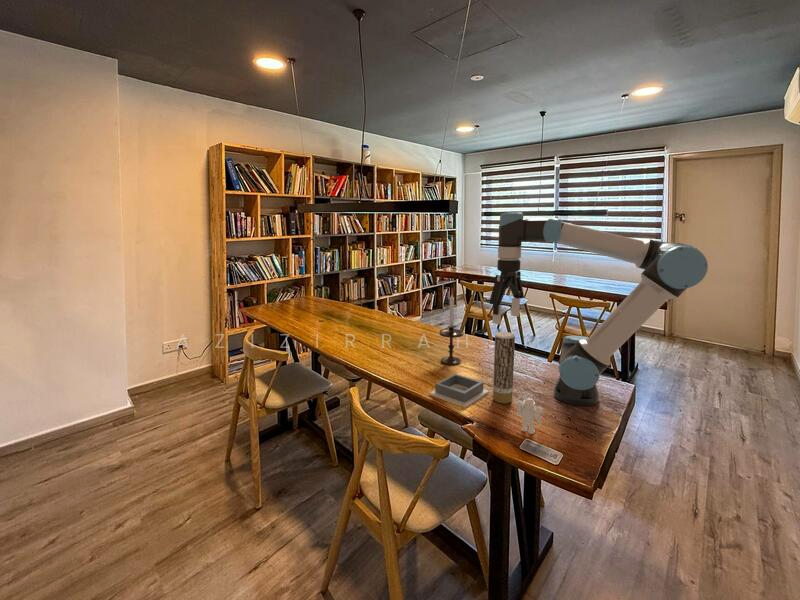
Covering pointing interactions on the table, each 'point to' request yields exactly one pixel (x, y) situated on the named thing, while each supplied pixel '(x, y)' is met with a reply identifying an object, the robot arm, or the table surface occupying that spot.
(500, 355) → the paper tube
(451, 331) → the candlestick
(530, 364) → the table surface
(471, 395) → the collar stand
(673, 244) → the robot arm
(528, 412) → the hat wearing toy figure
